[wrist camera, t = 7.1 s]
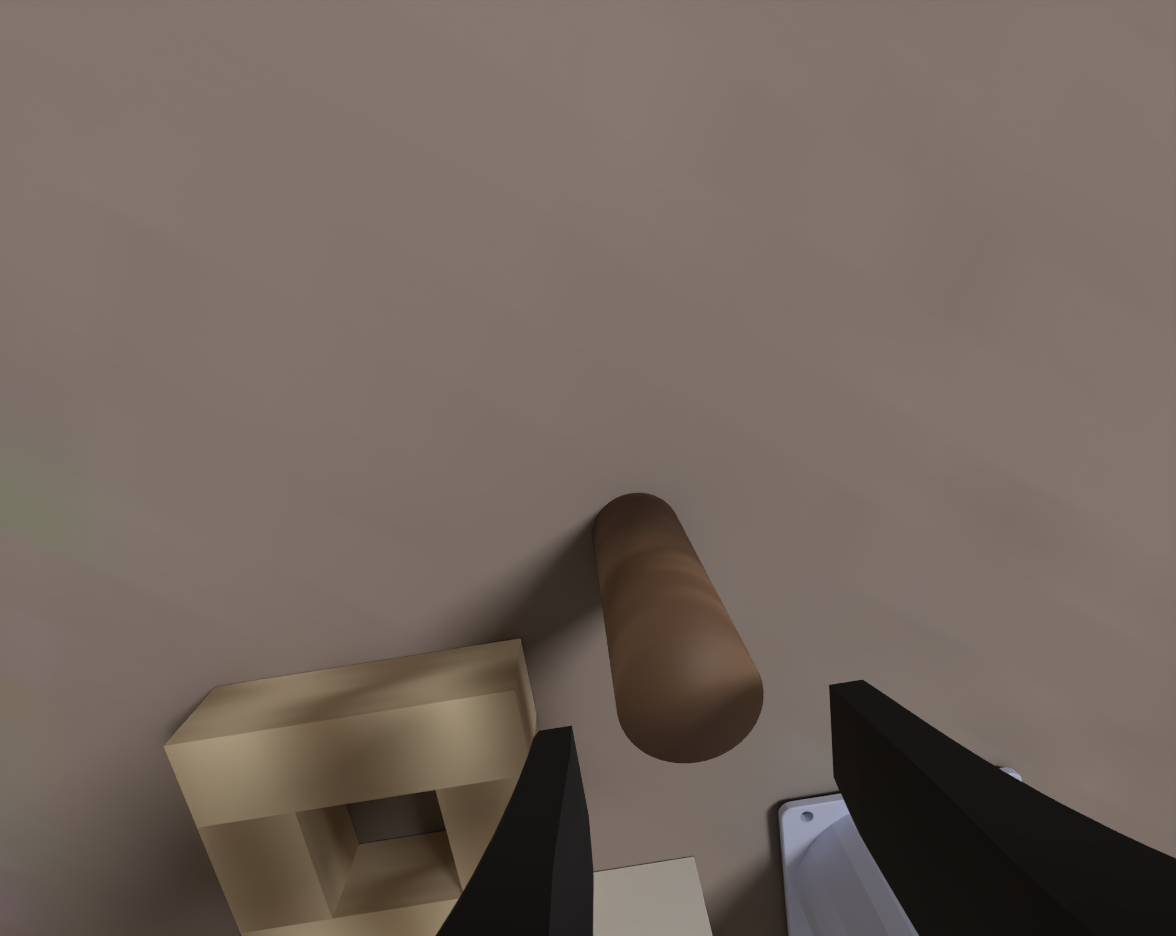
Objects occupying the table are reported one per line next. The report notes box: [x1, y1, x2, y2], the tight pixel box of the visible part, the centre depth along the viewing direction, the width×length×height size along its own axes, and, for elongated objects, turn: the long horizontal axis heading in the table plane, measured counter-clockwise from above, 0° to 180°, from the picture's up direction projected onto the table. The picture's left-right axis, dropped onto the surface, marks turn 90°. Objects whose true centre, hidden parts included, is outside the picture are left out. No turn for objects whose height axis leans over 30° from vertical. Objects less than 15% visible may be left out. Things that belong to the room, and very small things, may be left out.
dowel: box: [593, 493, 763, 763], centre depth 17 cm, size 3×3×9 cm
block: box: [164, 638, 540, 936], centre depth 22 cm, size 11×11×3 cm
